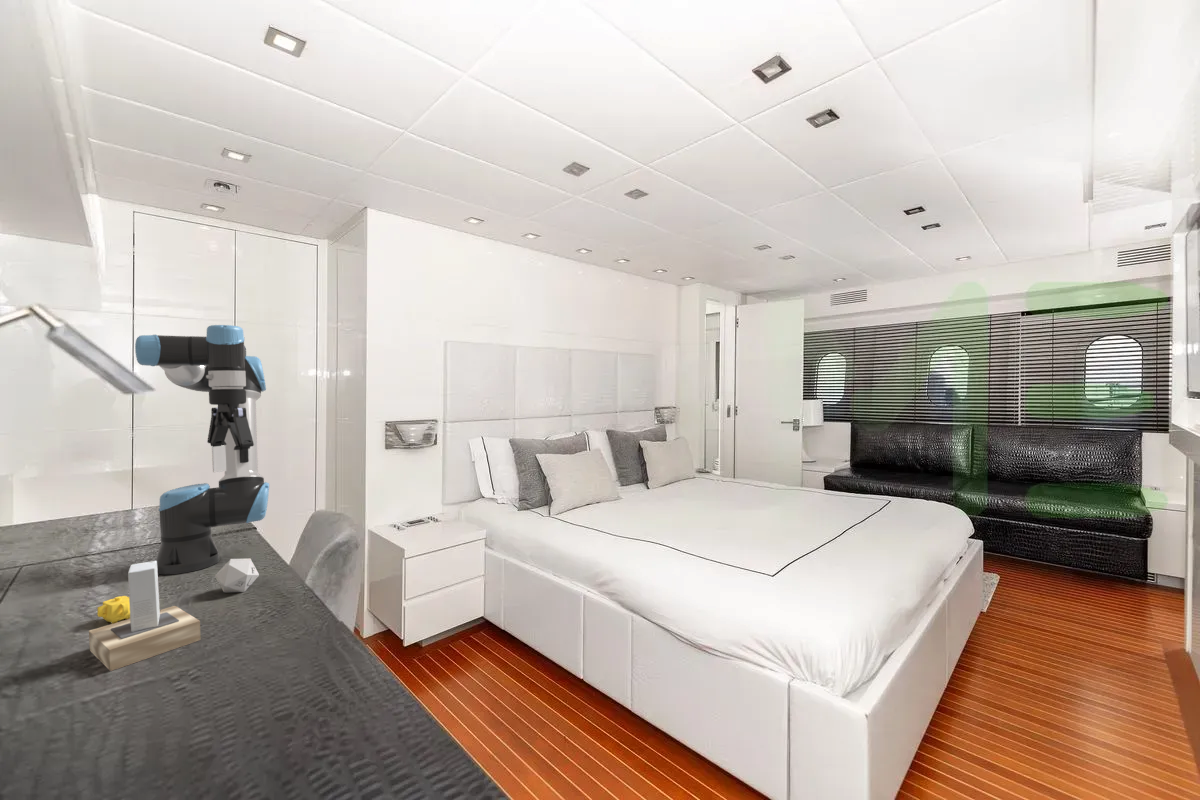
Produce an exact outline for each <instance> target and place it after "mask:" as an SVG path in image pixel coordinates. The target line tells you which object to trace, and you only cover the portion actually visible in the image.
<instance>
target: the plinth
mask: <svg viewBox="0 0 1200 800" xmlns="http://www.w3.org/2000/svg"><path fill="white" fill-rule="evenodd" d="M201 636H202V635H201V621H200V619H198V618H196V617H194V616H193V615H192V614H190V613H188V612H186V611H184V610H183V609H181V608H180V607H178V606H176V605H172V606H169V607H165V608H162V609H160V617H159V623H158V626H156V627H152V628H147V629H143V630H139V631H135V632H131V620H130V619H125V620H124V619H123V620H120V621H118V622H117V623H114V624H111V623H110V624H107V625H104V626H100V627H97V628H93V629H90V630H88V643H89V651H90V652H91V654H92V655H94V656H95V658H97V659H98V660H99V661H100V662H101V664H103V665H104V666H105V668H107V669H108V671H110V672H112V671H115V670H118V669H121V668H123V667H127V666H129V665H132V664H135V663H138V662H142V661H144V660H146V659H149V658H152V657H156V656H159V655H162V654H164V653H167V652H170V651H173V650H176V649H178V648H182V647H184V646H187V645H190V644H193V643H196V642H198V641H201V640H202V638H201Z"/></svg>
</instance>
